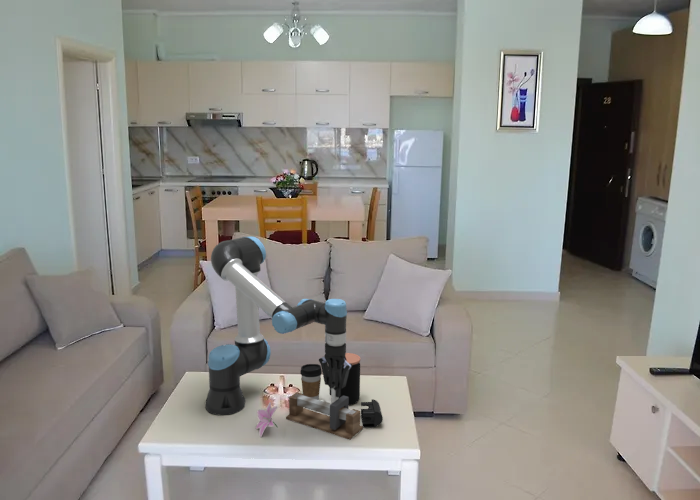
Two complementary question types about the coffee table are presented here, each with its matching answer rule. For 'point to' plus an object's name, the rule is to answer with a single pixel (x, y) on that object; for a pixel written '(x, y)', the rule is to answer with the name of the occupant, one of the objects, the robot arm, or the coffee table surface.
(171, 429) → the coffee table surface
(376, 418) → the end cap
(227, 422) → the coffee table surface
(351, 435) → the pipe stand
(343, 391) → the coffee jar
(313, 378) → the coffee cup
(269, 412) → the lily
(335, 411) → the collar
